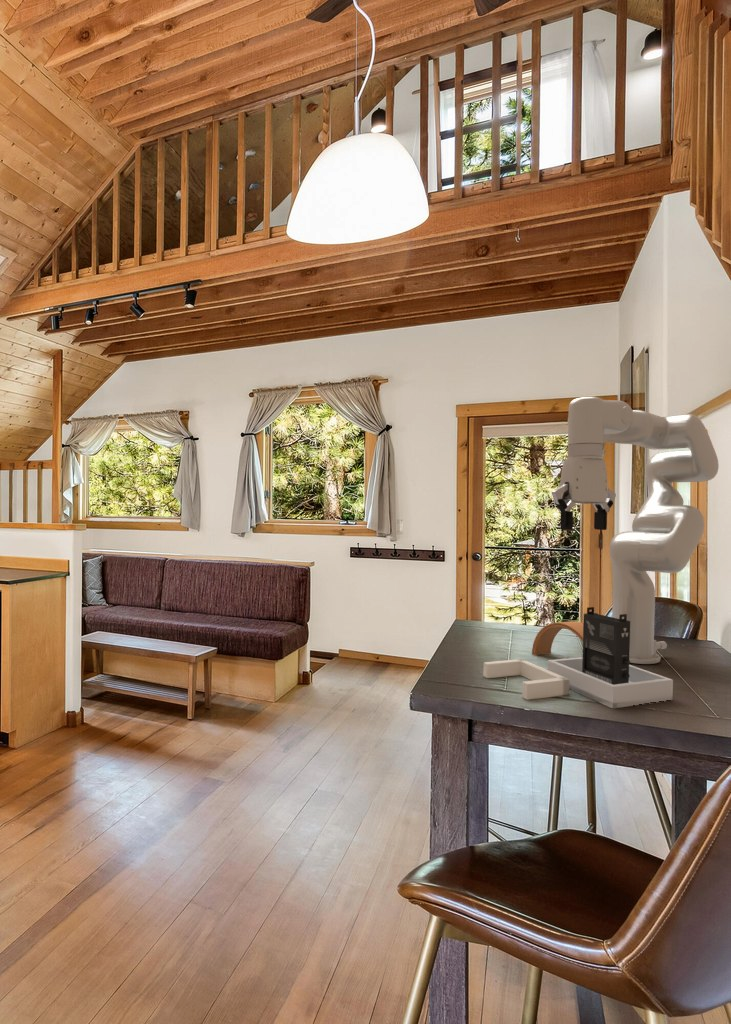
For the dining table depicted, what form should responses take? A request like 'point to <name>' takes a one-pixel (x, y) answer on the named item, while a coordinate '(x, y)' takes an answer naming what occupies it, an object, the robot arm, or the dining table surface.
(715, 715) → the dining table surface
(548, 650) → the arch
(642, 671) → the parts tray
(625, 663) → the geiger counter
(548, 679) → the cream piece
